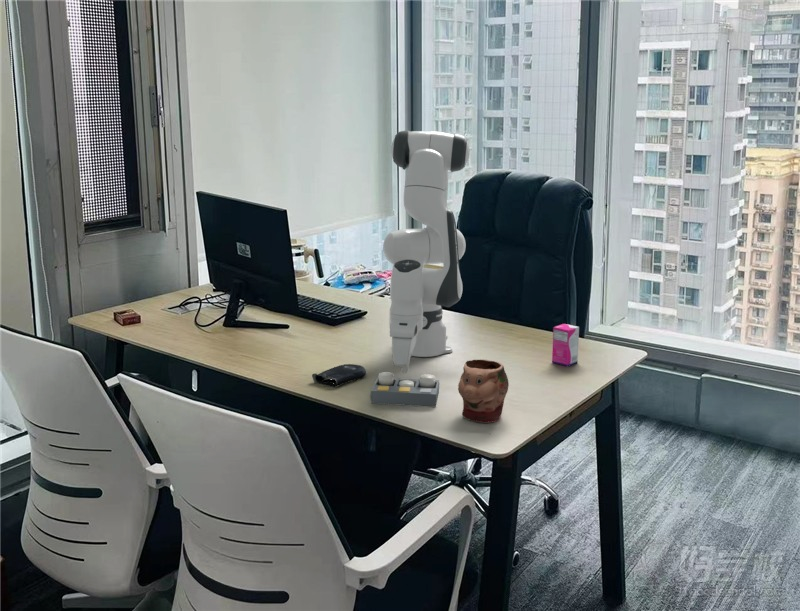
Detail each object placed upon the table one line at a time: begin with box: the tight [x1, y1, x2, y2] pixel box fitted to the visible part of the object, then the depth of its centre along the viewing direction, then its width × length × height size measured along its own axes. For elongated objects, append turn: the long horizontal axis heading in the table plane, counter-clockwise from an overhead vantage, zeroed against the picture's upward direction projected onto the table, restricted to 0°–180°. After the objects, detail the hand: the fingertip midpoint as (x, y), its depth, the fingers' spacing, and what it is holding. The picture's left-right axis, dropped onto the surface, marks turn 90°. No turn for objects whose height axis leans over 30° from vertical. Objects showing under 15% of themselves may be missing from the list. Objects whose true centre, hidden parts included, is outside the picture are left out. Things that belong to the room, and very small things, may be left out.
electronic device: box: [311, 363, 367, 388], centre depth 241 cm, size 10×6×15 cm
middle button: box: [399, 380, 414, 387], centre depth 228 cm, size 4×4×2 cm
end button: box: [378, 371, 394, 386], centre depth 228 cm, size 4×4×2 cm
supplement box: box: [551, 323, 580, 367], centre depth 257 cm, size 6×6×12 cm
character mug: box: [457, 358, 510, 424], centre depth 215 cm, size 20×12×14 cm, turn 159°
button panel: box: [370, 376, 440, 408], centre depth 227 cm, size 11×17×4 cm, turn 83°
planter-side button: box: [419, 373, 436, 388], centre depth 227 cm, size 4×4×2 cm
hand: (405, 371), depth 228 cm, fingers closed
